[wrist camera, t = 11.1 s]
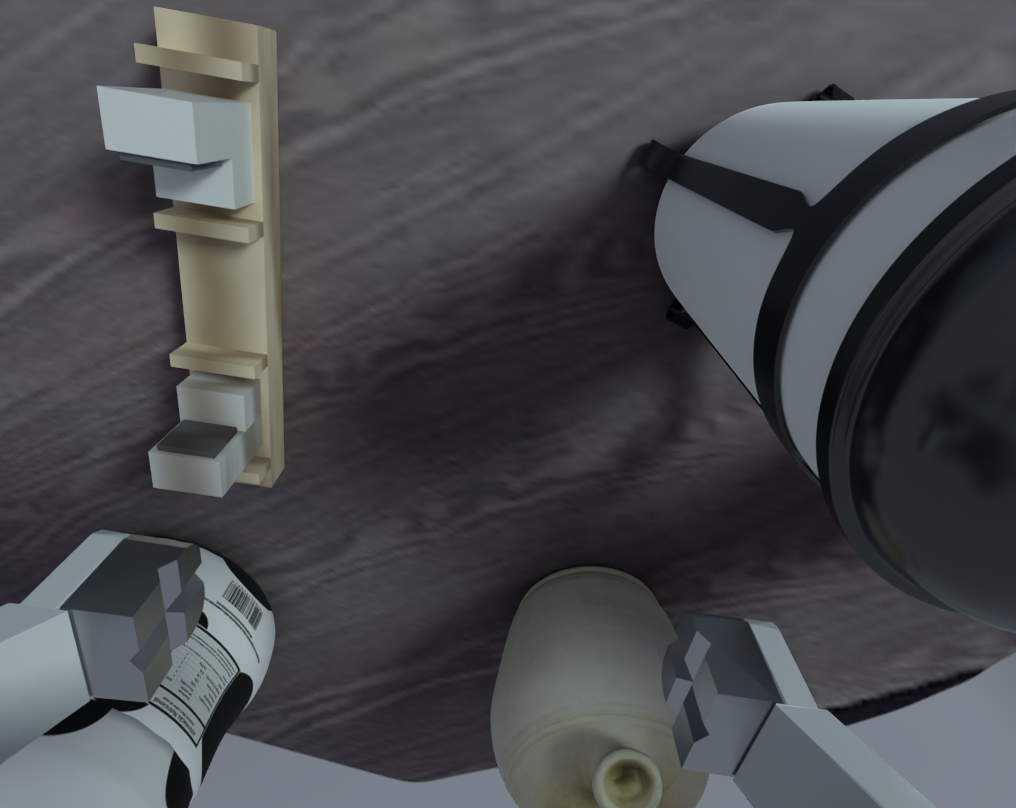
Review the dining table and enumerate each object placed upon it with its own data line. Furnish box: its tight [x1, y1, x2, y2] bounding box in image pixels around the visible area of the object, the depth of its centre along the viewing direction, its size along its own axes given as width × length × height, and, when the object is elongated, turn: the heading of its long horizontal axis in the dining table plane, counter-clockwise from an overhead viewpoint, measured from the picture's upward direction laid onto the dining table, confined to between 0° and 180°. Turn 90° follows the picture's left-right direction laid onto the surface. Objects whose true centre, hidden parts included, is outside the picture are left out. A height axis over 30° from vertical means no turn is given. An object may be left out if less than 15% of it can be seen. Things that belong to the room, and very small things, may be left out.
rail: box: [134, 7, 284, 497], centre depth 33 cm, size 5×28×8 cm, turn 171°
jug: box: [490, 566, 709, 808], centre depth 39 cm, size 15×16×25 cm
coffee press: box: [639, 84, 1016, 633], centre depth 22 cm, size 17×16×30 cm
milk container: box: [0, 537, 275, 808], centre depth 42 cm, size 17×17×18 cm
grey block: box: [97, 86, 255, 210], centre depth 29 cm, size 4×5×6 cm
